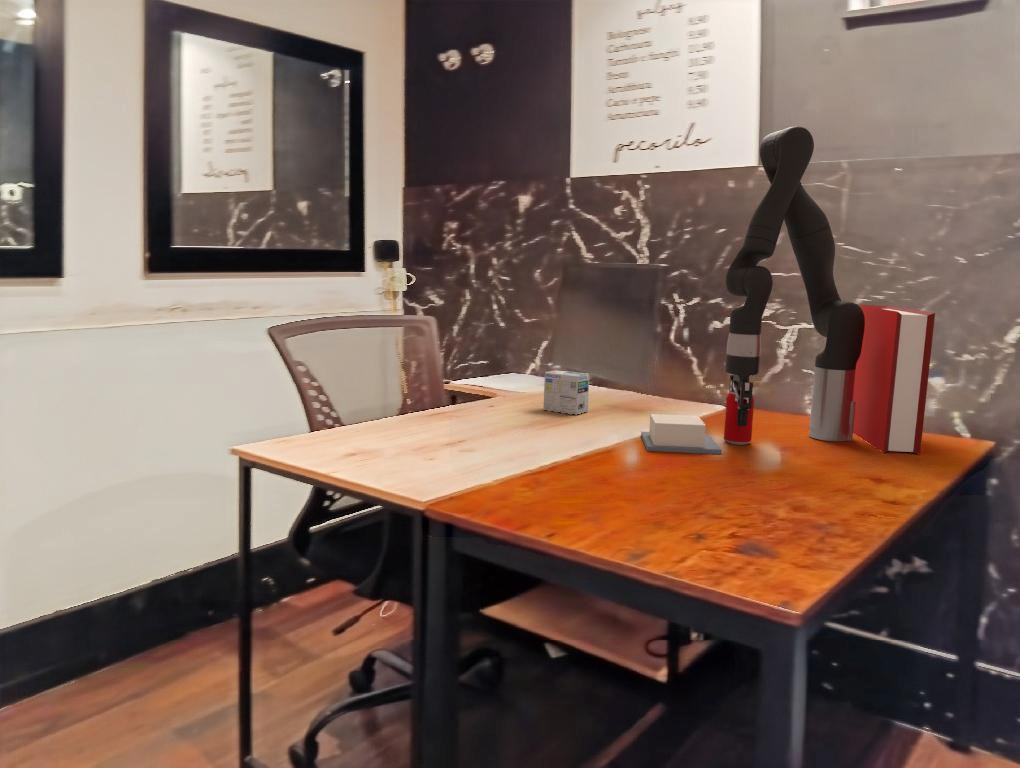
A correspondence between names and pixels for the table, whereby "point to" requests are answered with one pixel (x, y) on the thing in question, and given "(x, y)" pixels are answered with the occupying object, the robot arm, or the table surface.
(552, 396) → the light bulb box
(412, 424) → the table surface
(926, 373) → the book
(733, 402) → the beverage can
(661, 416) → the butter dish
